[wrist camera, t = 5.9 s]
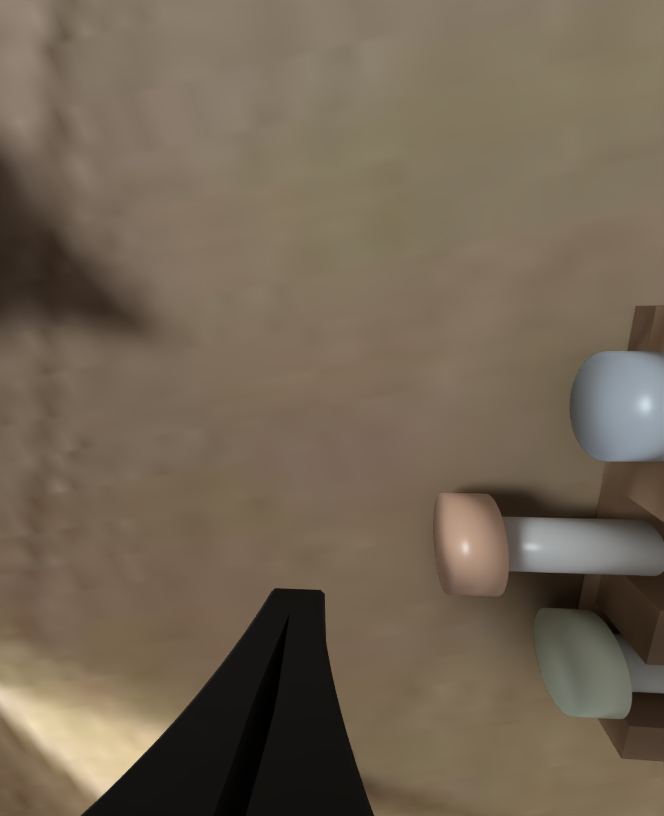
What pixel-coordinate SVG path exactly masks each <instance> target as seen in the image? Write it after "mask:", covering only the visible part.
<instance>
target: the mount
mask: <svg viewBox="0 0 664 816" xmlns="http://www.w3.org/2000/svg"><path fill="white" fill-rule="evenodd" d="M628 351H664V306H636V309H635V314H634V320H633V325H632V330H631V335H630V341H629V346H628ZM595 519H626V520H644V521H646V522H648V523H650V524H651V525H652V526H653V527H654V528H655V529H656V530H657V531H658V532H659V534H660V535H661V537H662V539H663V541H664V462H616V461H606V466H605V471H604V476H603V481H602V487H601V492H600V497H599V502H598V507H597V513H596V518H595ZM578 609H585V610H590V611H592V612H594V613H596V614H597V615H598V616H599V617H600V618H601V619H602V620H603V621H604V622H605V623H606V624H607V626H608V627H609V628H610V630H611V631H612V633H613V634H622V635H623V637H624V638H625V639H626V640H627V642H628V643H629V644H630V645H631V646H632V648H633V649H634V650H635V651H636V653H637V654H638V655H639V656H640V658H641V659H642V660H643V661H644V663H645V664H646V665H664V571H663V572H662V573H661V574H660V575H657V576H637V575H607V574H585V575H584V581H583V586H582V591H581V596H580V601H579V607H578ZM598 719H599V721H600V723H601V725H602V726H603V728H604V730H605V731H606V733H607V735H608V736H609V738H610V740H611V742H612V743H613V745H614V747H615V748H616V750H617V752H618V754H619V755H620V757H621V758H622V759H637V760H651V761H664V693H646V692H632V703H631V708H630V711H629V713H628V715H627V716H626V717H625V718H623V719H607V718H598Z"/></svg>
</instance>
